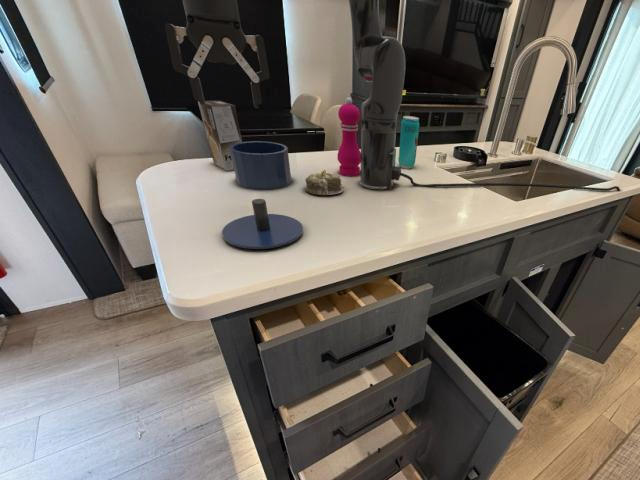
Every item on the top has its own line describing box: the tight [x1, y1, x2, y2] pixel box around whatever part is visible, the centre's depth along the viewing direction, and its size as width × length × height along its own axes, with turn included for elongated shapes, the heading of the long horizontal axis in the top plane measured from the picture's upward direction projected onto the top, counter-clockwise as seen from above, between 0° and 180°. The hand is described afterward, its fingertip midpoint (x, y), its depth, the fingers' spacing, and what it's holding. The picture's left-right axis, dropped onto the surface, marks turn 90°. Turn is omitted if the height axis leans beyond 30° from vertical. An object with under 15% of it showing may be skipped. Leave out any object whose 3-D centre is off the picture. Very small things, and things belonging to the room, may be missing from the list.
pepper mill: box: [336, 96, 361, 177], centre depth 93 cm, size 7×7×20 cm
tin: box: [230, 140, 292, 191], centre depth 84 cm, size 14×14×8 cm
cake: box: [305, 169, 345, 196], centre depth 84 cm, size 10×10×5 cm
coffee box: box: [197, 100, 243, 172], centre depth 90 cm, size 9×6×16 cm
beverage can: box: [398, 115, 420, 170], centre depth 106 cm, size 6×6×15 cm
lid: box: [221, 198, 304, 250], centre depth 61 cm, size 15×15×7 cm
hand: (230, 106), depth 57 cm, fingers open, 8 cm apart
